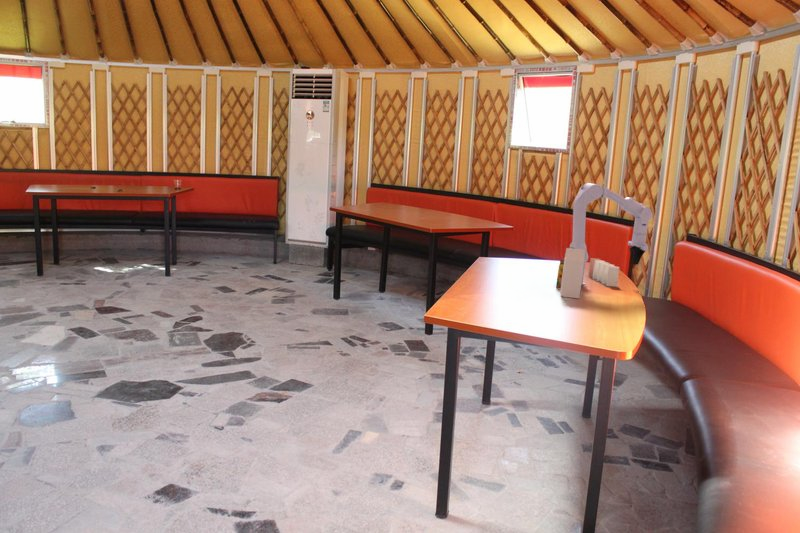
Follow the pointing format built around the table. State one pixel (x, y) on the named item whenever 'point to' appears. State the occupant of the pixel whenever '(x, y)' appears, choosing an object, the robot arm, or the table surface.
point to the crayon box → (560, 274)
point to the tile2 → (605, 273)
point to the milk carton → (572, 273)
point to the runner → (600, 282)
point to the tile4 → (596, 268)
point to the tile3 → (601, 270)
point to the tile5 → (592, 267)
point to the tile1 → (612, 276)
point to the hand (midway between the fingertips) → (635, 264)
